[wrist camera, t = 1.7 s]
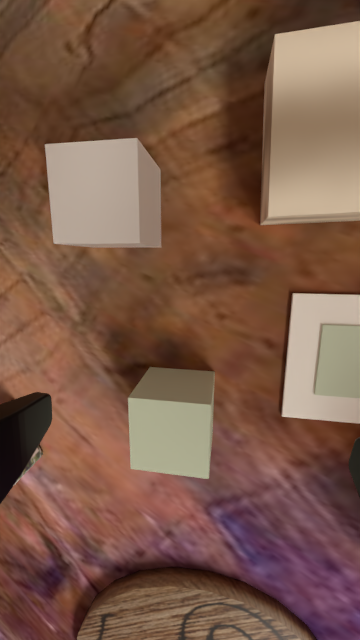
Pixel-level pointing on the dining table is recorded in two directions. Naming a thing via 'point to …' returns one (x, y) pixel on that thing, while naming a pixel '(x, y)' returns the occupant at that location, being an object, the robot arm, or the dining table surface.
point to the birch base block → (312, 127)
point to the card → (323, 358)
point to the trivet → (187, 609)
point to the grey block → (104, 194)
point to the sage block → (172, 422)
